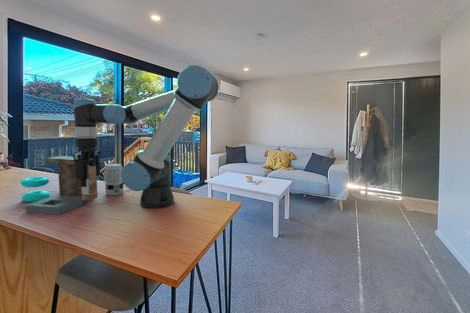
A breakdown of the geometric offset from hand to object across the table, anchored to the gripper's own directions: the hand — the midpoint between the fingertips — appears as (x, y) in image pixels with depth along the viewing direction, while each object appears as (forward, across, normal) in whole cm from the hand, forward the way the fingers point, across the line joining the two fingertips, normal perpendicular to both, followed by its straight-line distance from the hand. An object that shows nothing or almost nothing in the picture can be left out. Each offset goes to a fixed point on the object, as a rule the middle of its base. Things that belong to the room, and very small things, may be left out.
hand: (89, 192), depth 101 cm
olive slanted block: (+7, -8, -14) cm, 18 cm away
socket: (+7, +2, -14) cm, 15 cm away
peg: (+3, 0, 0) cm, 3 cm away
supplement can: (+7, -22, -2) cm, 23 cm away
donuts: (+7, -6, -30) cm, 32 cm away
